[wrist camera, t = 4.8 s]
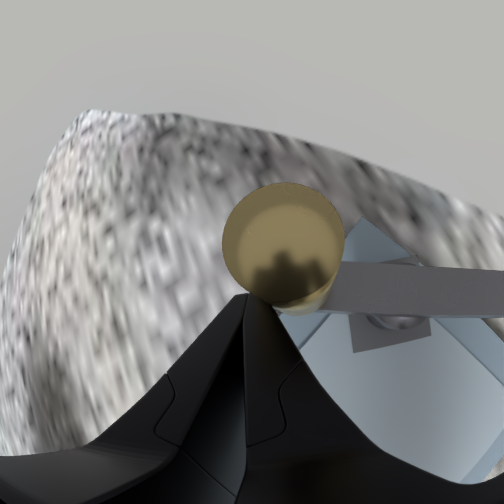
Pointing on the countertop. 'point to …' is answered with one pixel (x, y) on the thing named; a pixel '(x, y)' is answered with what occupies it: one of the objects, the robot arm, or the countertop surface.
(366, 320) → the cover panel
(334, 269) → the crank handle
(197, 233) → the countertop surface
